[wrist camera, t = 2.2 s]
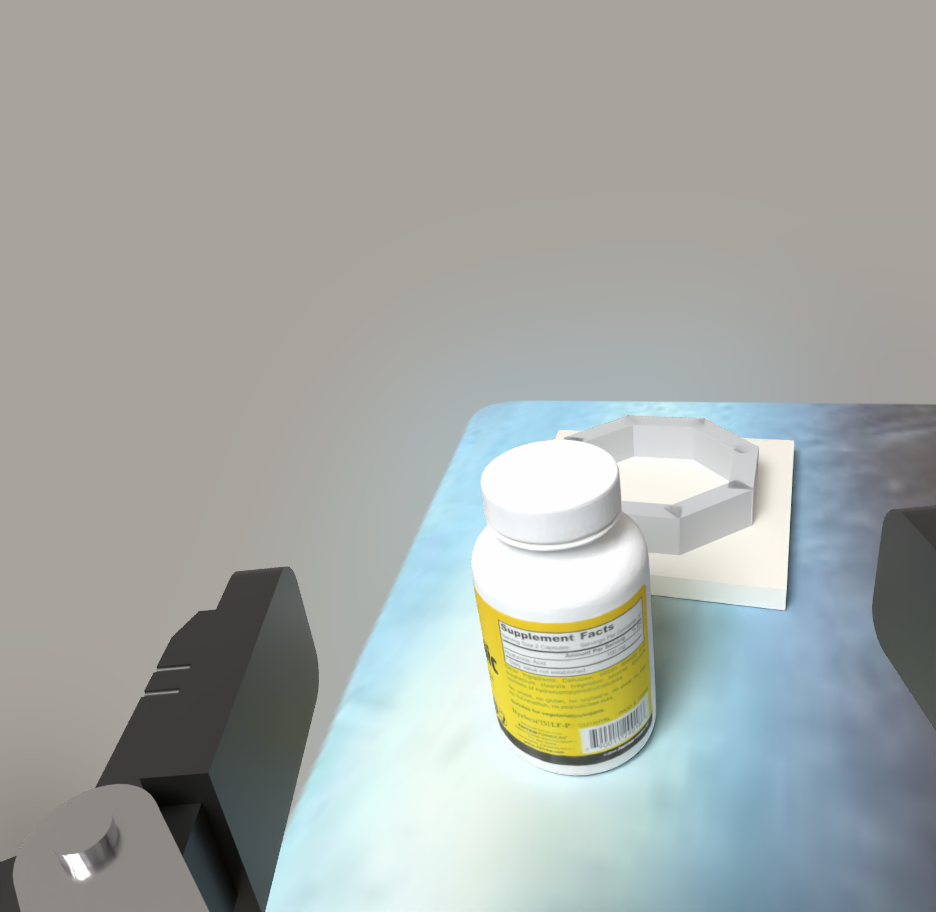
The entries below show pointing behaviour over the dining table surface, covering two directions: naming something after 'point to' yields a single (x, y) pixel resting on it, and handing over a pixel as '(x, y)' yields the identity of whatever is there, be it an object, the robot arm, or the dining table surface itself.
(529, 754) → the supplement bottle
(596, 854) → the dining table surface
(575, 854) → the dining table surface
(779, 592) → the seat plate
